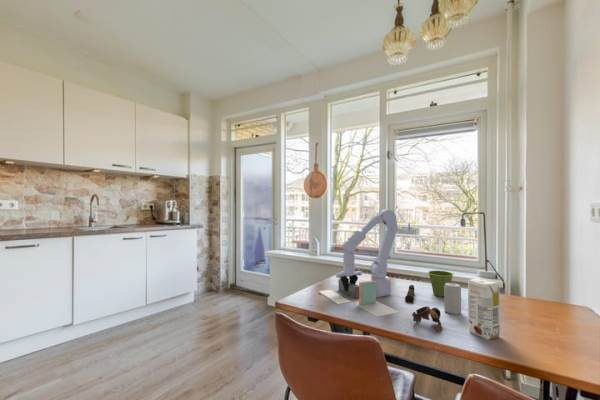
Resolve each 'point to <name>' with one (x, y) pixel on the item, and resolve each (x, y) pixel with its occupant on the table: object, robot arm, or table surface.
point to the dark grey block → (350, 289)
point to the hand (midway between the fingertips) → (349, 290)
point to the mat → (377, 309)
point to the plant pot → (439, 281)
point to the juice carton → (484, 308)
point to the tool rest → (334, 297)
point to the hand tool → (410, 294)
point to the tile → (367, 292)
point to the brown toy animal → (425, 313)
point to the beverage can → (452, 298)
